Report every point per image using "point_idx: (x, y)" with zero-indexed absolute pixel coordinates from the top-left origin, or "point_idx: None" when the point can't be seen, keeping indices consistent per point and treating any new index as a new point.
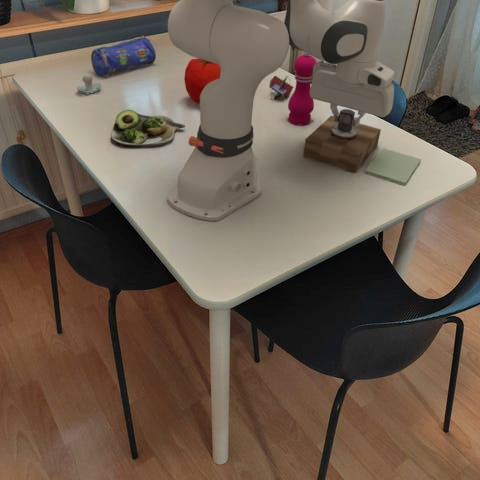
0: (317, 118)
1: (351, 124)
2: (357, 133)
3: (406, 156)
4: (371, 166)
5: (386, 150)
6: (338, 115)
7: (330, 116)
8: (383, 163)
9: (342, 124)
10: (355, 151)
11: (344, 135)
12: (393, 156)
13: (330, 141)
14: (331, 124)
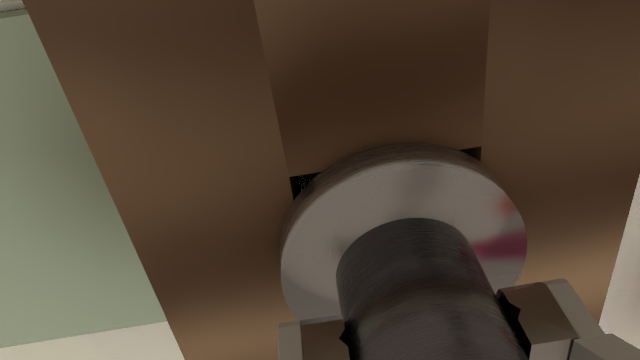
0: (632, 336)
1: (340, 323)
2: None
3: (9, 334)
4: (45, 99)
5: (137, 315)
6: (538, 352)
7: None
8: (27, 190)
9: (428, 272)
10: (104, 40)
11: (345, 182)
12: (57, 292)
13: (435, 41)
14: None
